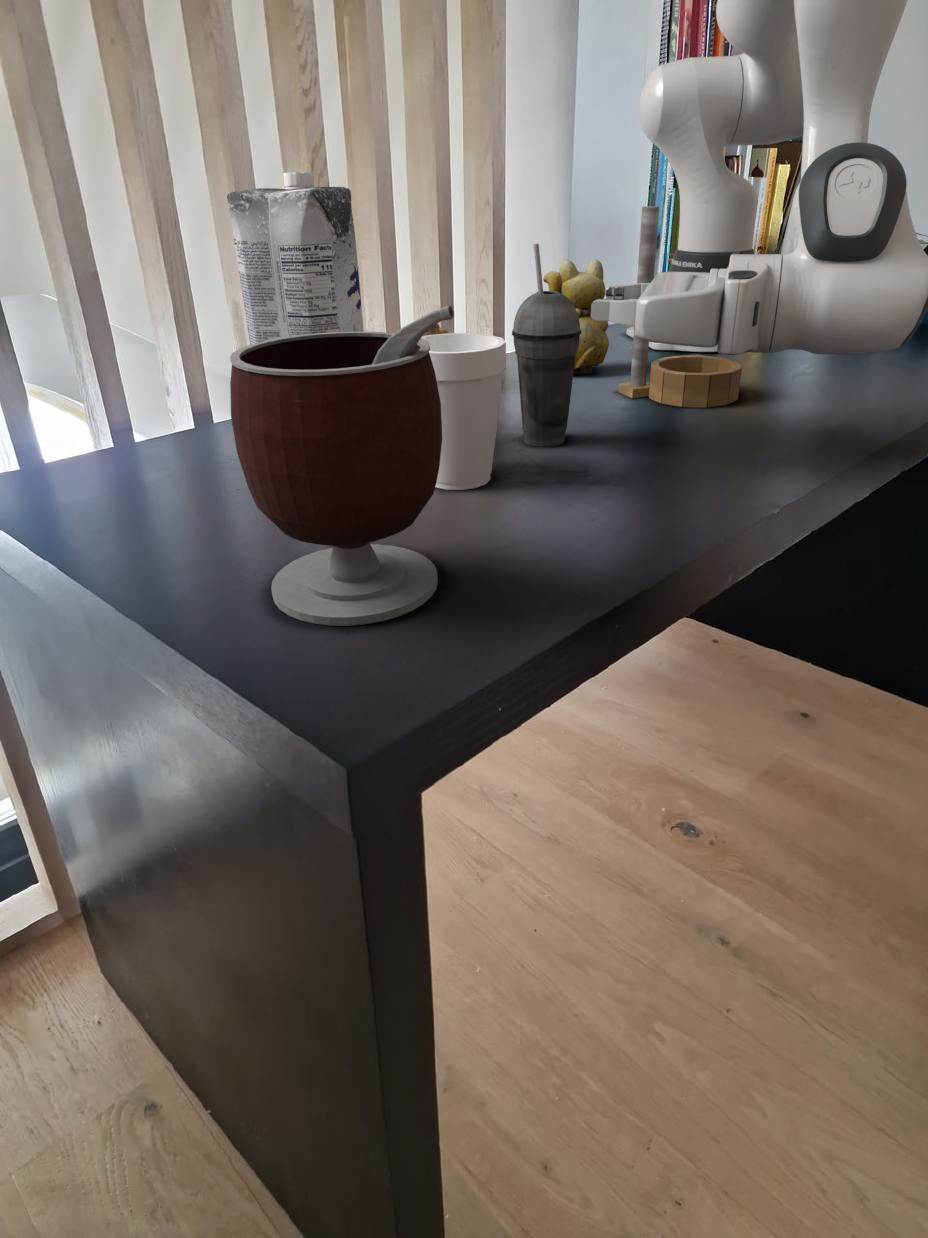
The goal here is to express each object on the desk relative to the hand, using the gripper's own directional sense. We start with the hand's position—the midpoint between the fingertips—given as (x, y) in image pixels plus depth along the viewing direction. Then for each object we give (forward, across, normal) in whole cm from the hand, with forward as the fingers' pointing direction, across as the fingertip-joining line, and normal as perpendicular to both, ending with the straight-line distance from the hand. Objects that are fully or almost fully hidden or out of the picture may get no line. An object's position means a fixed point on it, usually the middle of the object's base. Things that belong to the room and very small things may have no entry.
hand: (599, 302), depth 84 cm
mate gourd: (+11, +38, +15) cm, 42 cm away
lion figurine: (+26, -24, +15) cm, 39 cm away
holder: (-9, -22, +14) cm, 28 cm away
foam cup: (+11, +14, +15) cm, 23 cm away
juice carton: (+28, +10, +15) cm, 33 cm away
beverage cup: (+5, 0, +15) cm, 16 cm away
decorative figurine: (+8, -33, +15) cm, 37 cm away
